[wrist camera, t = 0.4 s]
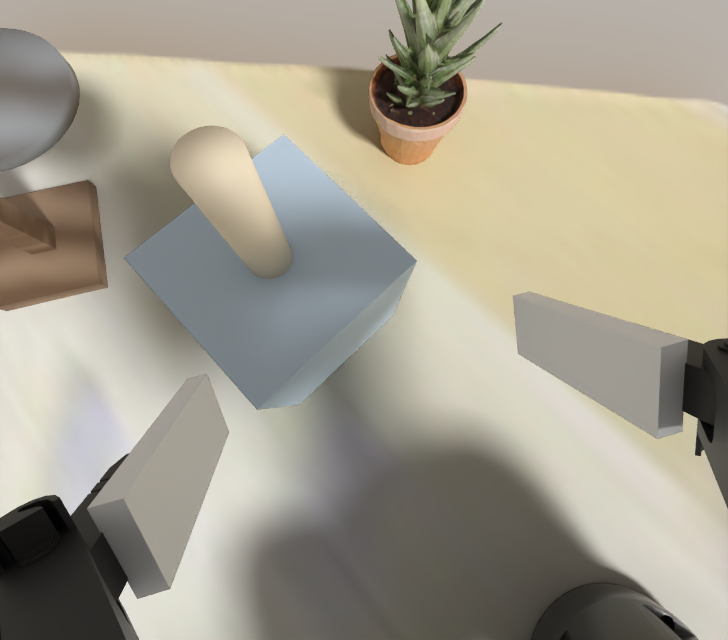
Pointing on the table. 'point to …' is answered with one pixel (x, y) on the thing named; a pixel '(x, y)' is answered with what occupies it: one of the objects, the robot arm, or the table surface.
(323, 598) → the table surface
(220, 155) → the cover
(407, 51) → the potted plant
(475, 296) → the table surface
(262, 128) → the table surface
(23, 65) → the balance
